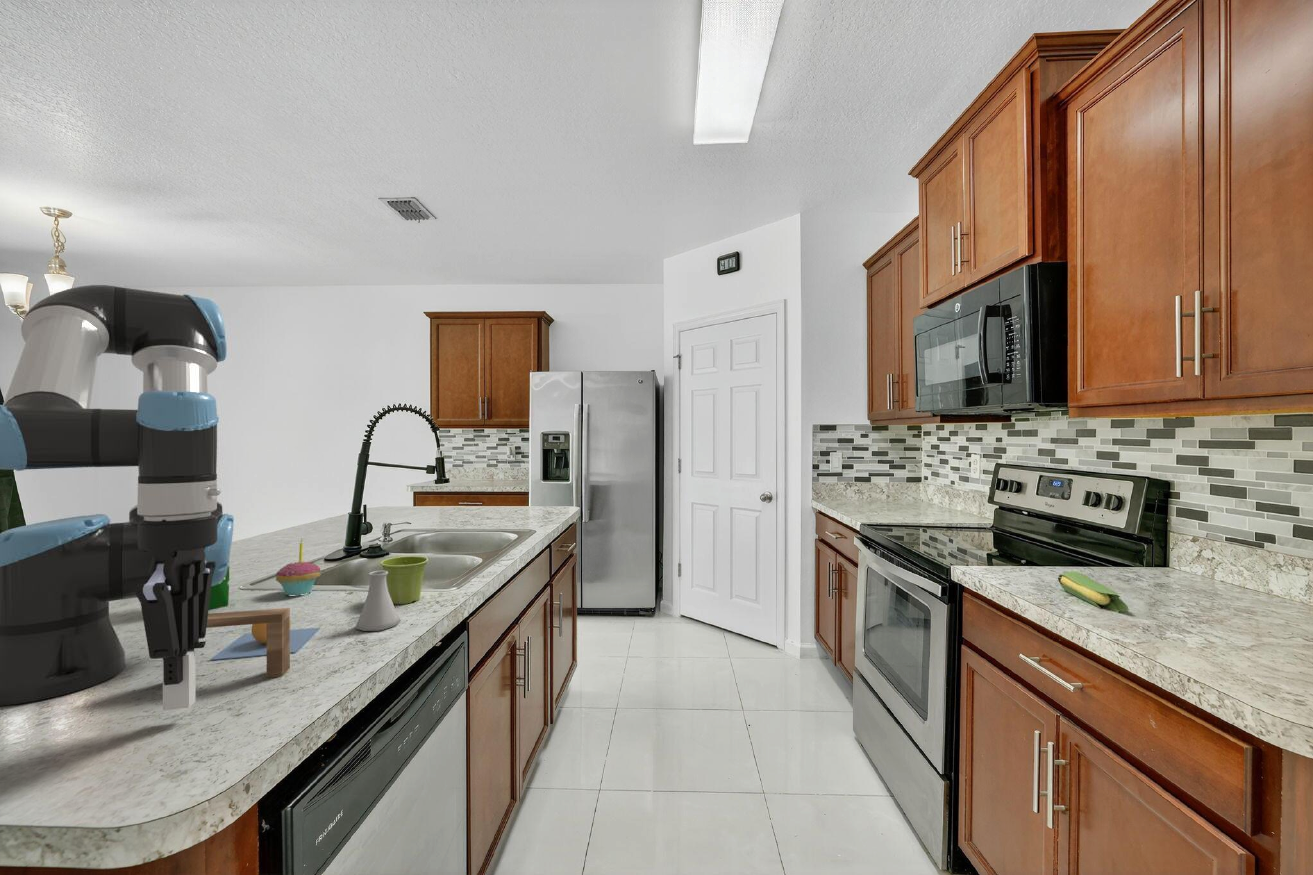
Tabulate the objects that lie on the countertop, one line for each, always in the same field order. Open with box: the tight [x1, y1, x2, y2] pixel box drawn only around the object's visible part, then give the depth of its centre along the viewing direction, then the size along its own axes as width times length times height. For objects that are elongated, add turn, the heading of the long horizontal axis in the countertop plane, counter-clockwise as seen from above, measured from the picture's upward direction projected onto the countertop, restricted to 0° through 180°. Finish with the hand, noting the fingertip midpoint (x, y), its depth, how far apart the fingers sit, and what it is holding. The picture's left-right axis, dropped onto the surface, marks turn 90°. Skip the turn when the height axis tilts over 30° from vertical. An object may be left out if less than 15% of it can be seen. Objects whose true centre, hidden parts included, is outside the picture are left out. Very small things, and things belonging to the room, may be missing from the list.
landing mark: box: [209, 627, 321, 662], centre depth 95 cm, size 12×12×1 cm
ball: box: [251, 623, 291, 644], centre depth 95 cm, size 6×6×6 cm
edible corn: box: [1057, 570, 1130, 614], centre depth 119 cm, size 5×20×5 cm
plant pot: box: [380, 555, 429, 605], centre depth 120 cm, size 9×9×9 cm
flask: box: [354, 570, 401, 632], centre depth 104 cm, size 7×7×10 cm
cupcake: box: [275, 538, 321, 596], centre depth 125 cm, size 9×8×12 cm
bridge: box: [206, 607, 291, 679], centre depth 82 cm, size 3×14×9 cm, turn 105°
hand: (179, 705), depth 69 cm, fingers closed
